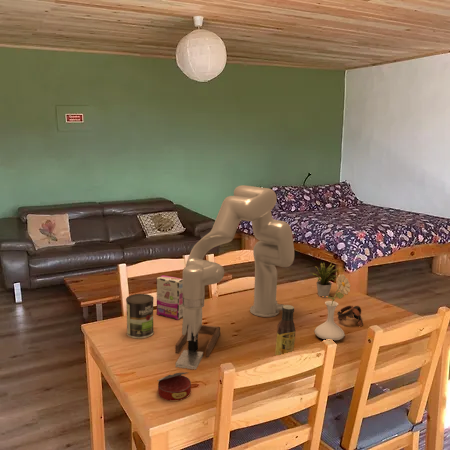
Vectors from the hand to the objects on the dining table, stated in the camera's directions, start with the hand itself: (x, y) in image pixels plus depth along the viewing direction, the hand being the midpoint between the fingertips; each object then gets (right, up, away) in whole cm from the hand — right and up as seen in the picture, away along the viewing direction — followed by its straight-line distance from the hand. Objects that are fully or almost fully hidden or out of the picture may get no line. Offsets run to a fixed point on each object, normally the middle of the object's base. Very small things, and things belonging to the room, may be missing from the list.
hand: (193, 350), depth 169 cm
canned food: (-4, -7, -24) cm, 25 cm away
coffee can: (-21, +2, +15) cm, 26 cm away
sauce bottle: (+32, -3, -4) cm, 32 cm away
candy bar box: (-12, +6, +32) cm, 35 cm away
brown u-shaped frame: (+2, +1, +8) cm, 8 cm away
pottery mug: (+64, +4, +30) cm, 70 cm away
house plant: (+58, +10, +59) cm, 83 cm away
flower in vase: (+52, +1, +16) cm, 55 cm away
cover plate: (-1, -3, -6) cm, 6 cm away
